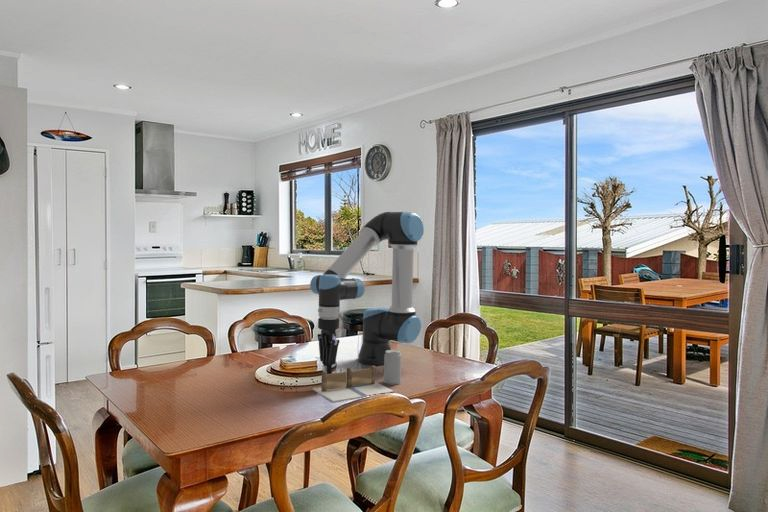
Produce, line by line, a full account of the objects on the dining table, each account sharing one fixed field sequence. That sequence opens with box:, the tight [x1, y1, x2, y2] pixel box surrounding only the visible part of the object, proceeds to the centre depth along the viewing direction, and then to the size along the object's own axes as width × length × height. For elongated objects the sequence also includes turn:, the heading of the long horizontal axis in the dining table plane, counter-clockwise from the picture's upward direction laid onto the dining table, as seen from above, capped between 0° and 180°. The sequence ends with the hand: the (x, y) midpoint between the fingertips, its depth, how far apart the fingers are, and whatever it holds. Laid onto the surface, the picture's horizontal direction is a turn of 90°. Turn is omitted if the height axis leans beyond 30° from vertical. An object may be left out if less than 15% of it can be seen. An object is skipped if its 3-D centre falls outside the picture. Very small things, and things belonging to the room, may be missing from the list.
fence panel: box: [320, 371, 347, 391], centre depth 191 cm, size 2×10×6 cm, turn 123°
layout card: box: [311, 381, 395, 403], centre depth 192 cm, size 16×24×1 cm, turn 123°
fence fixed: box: [346, 365, 377, 388], centre depth 197 cm, size 2×12×7 cm, turn 123°
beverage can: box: [383, 349, 402, 386], centre depth 203 cm, size 6×6×12 cm
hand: (327, 382), depth 195 cm, fingers closed
